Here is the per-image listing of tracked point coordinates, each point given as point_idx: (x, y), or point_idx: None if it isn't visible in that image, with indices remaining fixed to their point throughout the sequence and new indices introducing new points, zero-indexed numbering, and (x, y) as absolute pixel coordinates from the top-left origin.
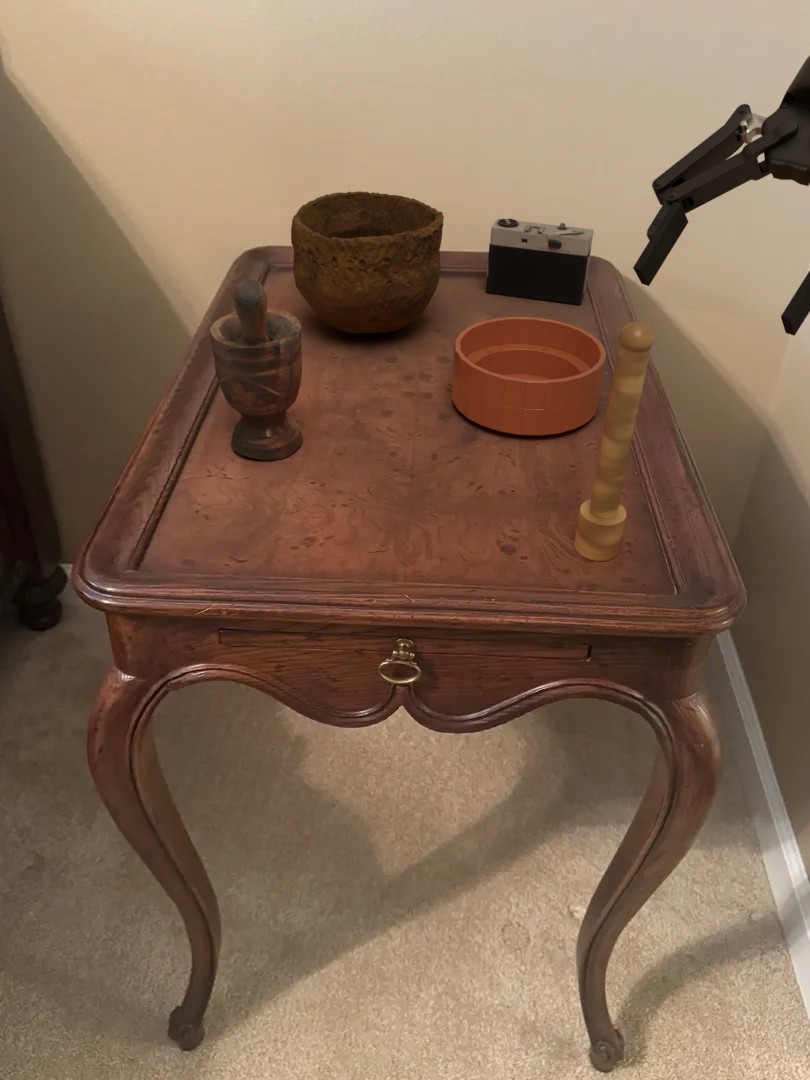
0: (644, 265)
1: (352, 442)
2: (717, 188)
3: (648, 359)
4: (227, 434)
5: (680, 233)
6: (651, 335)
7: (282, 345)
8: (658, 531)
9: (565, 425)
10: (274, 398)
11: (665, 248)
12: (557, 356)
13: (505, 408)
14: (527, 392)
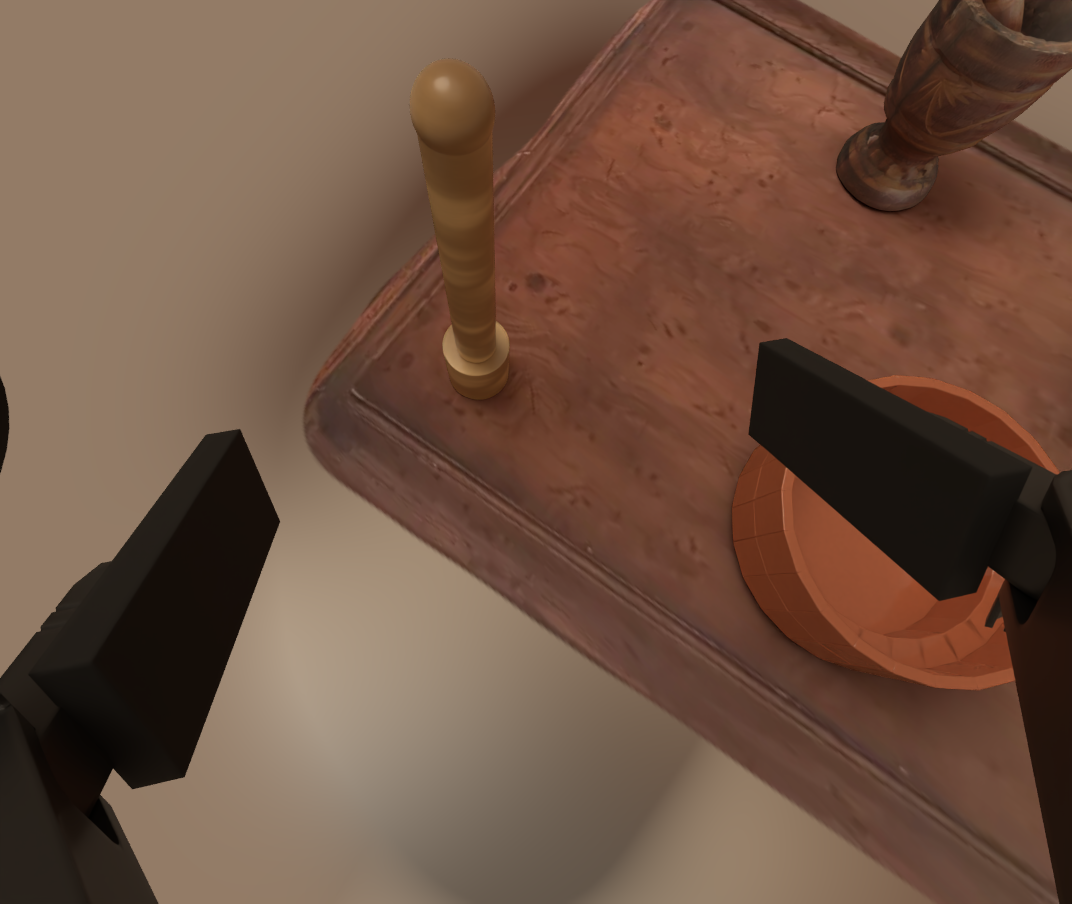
0: (772, 358)
1: (842, 258)
2: (1069, 731)
3: (427, 165)
4: None
5: (888, 549)
6: (414, 100)
7: (962, 5)
8: (458, 467)
9: (736, 515)
10: (896, 81)
11: (828, 461)
12: (938, 634)
13: None
14: None
